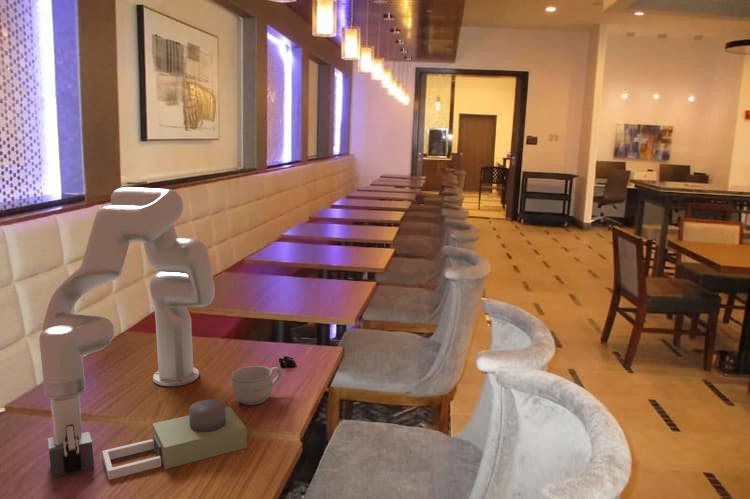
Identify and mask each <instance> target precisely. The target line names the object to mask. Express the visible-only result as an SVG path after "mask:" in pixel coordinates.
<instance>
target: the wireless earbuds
mask: <svg viewBox="0 0 750 499" xmlns="http://www.w3.org/2000/svg"><path fill="white" fill-rule="evenodd" d="M278 362H279V366H280V368H285V367H291V368H294V367H295V365H296V361H295V360H294V357H290V356H286V355H285V356H284V355H283V358H282V357H279V358H278Z"/></svg>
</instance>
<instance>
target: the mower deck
mask: <svg viewBox="0 0 750 499" xmlns="http://www.w3.org/2000/svg"><path fill="white" fill-rule="evenodd" d="M152 437H153V439H152V438H151V439H147V440H143V441H139V442H134V443H130V444H126V445H121V446H117V447H113V448H109V449H105V450H102V451H101V452H102V455H101V456H102V460H103V461H102V462H103V465H104V468H105V472H106V475H107V479H108V481H110V480H113V479H118V478H122V477H125V476H129V475H133V474H137V473H140V472H141V473H142V472H145V471H148V470H149V471H150V470H152V469H155V468H156V469H157V468H160V467H162V465H163V467H164V469H165V470H167V469H171V468H175V467H178V466H181V465H185V464H189V463H193V462H197V461H201V460H202V461H203V460H205V459H210V458H212V457H216V456H221V455H224V454H227V453H232V452H235V451H240V450H243V449H246V448H247V447H248V446H247V445H248V443H247V442H248V441H247V427H246V425H245V424H244V423H243V422H242V420H241V419H240V418H239V416H238V415H237V414H236V413H235V410H233V408H232V407H231V406H230V405H229V406H226V403H225V402H223V401H222V400H219V399H211V398H210V399H204V400H199V401H197V402H194V403H192V404H191V405H190V406H189V408H188V415H184V416H180V417H175V418H172V419H167V420H162V421H157V422H154V423H152ZM152 450H155V453H156V455H157V456H153V457H149V458H146V459H145V458H144V459H142V460H141V459H140V460H137V461H134V462H130V463H125V464H121V465H118V466H114V467H113V466H112V465H113V464H112V462H111V460H116V459H118V458H124V457H126V456H131V455H134V454H139V453H140V454H141V453H143V452H147V451H152Z"/></svg>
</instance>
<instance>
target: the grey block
mask: <svg viewBox="0 0 750 499" xmlns="http://www.w3.org/2000/svg"><path fill="white" fill-rule="evenodd" d="M74 439H76V438H75V436H74ZM67 440H68V439H67V438H65V441H67ZM92 440H93V439H92V438H91V432H90V431H85V432H81V439H80V440H78V446H79V451H80V455H81V466H82V469H81V470H79V471H75V472H71V473H65V471H64V461H63V455H64V446H63V444H59V445H56V444H55V438H54V436H51V437H47V444H48V446H47V447H48V457H49V464H50V467H49V468H50V473H51V474H50V475H51V478H52V479H53V478H57V477H62V476H65V475H69V474H74V473H77V472H81V471H86V470H89V469H93V468H95V463H94V452H93V441H92ZM66 447H68V444H66Z"/></svg>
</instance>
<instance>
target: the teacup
mask: <svg viewBox="0 0 750 499" xmlns="http://www.w3.org/2000/svg"><path fill="white" fill-rule="evenodd" d="M275 372H276V376H275V377H274V379H273V374H274V373H275ZM281 378H282V369H281V367H280V368H279V367H277V366H273V367H271V368H270V367H269V366H268V367H267V366H264V365H250V366H245V367H244V366H243V367H239V368H238V369H236V370H234V371H232V372H231V383H232V384H231V385H232V386H231V387H232V393H233V396H234V398H235V400H237V401H238V402H240V403H241V404H243V405H247V406H248V405H249V406H255V405H256V406H257V405H258V404H259V405H260V404H262V403H264V402H266V400H267V399H268V398H270V396H271V395H272V393H273V387H274V386H275V385H276V384H277V383H278V382H279V381H280V379H281Z"/></svg>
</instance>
